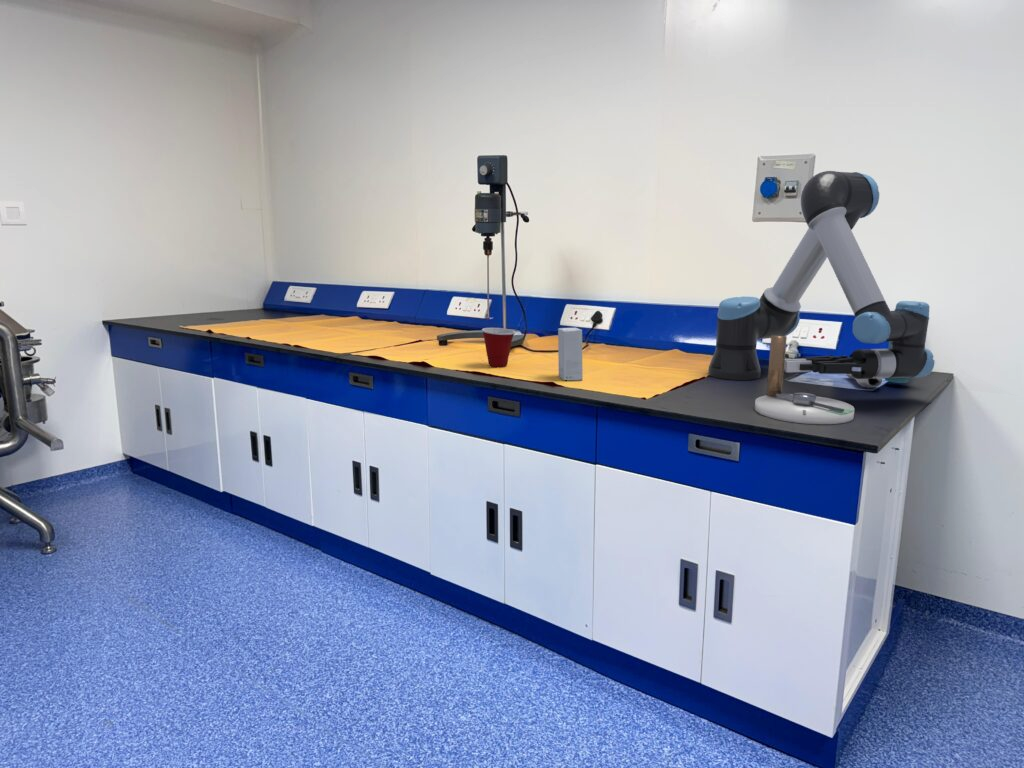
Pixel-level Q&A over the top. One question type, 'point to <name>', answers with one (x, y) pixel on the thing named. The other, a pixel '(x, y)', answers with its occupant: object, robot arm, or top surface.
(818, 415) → the round white plate
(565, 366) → the skincare box
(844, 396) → the top surface
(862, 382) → the silver metal bottle
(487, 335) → the plastic cup
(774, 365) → the crank handle
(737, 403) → the top surface
